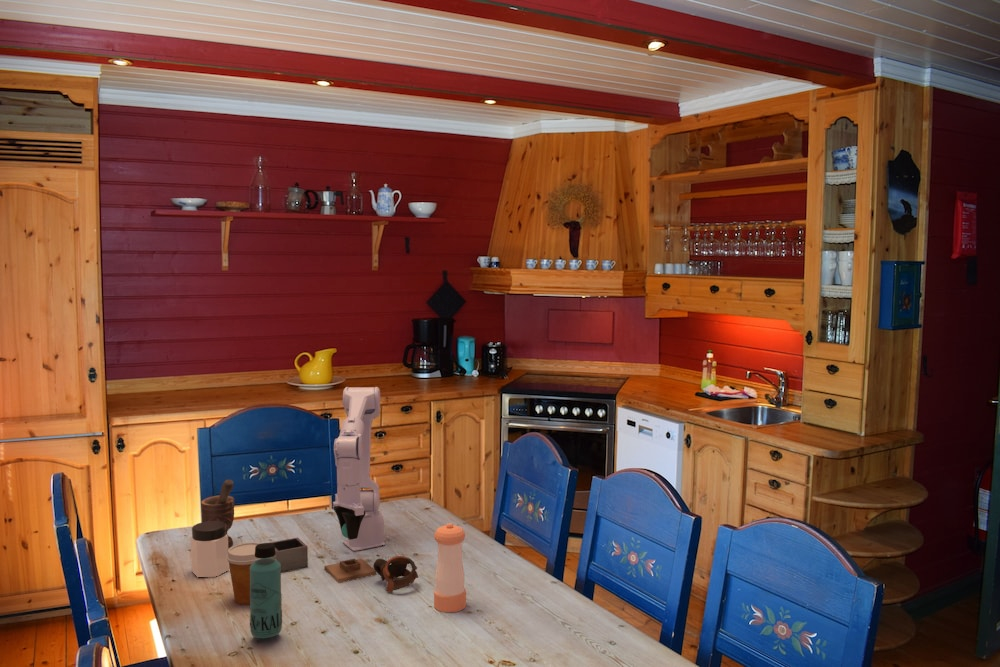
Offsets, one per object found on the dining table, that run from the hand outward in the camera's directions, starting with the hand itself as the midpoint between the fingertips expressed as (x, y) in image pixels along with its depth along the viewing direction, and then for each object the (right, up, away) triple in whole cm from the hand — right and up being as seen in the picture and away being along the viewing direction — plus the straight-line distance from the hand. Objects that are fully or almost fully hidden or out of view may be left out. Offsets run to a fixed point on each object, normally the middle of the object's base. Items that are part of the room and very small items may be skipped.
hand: (349, 536), depth 198 cm
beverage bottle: (-10, -12, -35) cm, 39 cm away
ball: (0, +1, 0) cm, 2 cm away
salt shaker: (+27, -11, -19) cm, 35 cm away
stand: (0, -9, +1) cm, 9 cm away
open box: (-17, -9, +5) cm, 20 cm away
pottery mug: (+13, -10, -7) cm, 18 cm away
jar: (-35, -10, +1) cm, 37 cm away
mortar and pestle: (-39, -8, +19) cm, 44 cm away
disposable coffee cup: (-20, -11, -16) cm, 28 cm away
